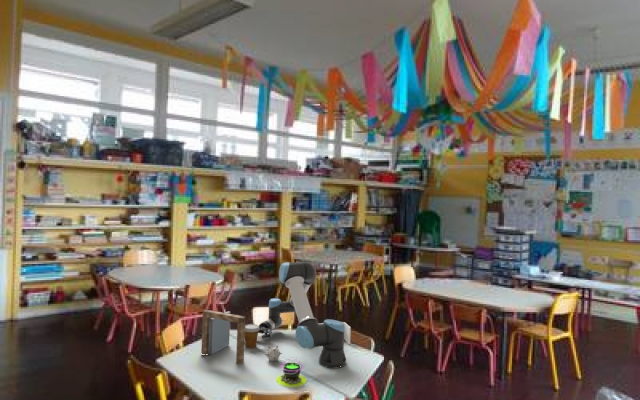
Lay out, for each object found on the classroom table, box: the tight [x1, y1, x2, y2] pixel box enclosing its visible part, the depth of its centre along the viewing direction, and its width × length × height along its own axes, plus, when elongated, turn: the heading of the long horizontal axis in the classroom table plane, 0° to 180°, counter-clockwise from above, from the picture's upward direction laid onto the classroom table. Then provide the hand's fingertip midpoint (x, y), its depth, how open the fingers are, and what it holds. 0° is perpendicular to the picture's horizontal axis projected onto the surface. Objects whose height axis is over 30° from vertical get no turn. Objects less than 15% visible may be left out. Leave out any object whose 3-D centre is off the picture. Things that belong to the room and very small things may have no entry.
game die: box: [265, 345, 283, 363], centre depth 253 cm, size 9×8×10 cm
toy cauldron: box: [276, 357, 307, 388], centre depth 229 cm, size 15×15×11 cm
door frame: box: [200, 309, 246, 365], centre depth 253 cm, size 26×3×25 cm, turn 67°
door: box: [207, 311, 231, 356], centre depth 265 cm, size 19×4×20 cm, turn 157°
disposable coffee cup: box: [244, 323, 259, 349], centre depth 274 cm, size 10×10×12 cm
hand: (248, 336), depth 271 cm, fingers open, 13 cm apart
